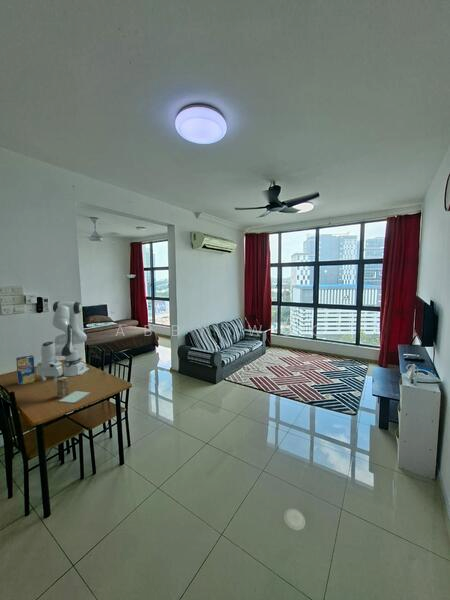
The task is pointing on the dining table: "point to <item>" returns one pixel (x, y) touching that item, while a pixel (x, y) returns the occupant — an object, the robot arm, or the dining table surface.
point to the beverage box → (25, 369)
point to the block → (62, 387)
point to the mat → (74, 397)
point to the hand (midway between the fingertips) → (49, 380)
